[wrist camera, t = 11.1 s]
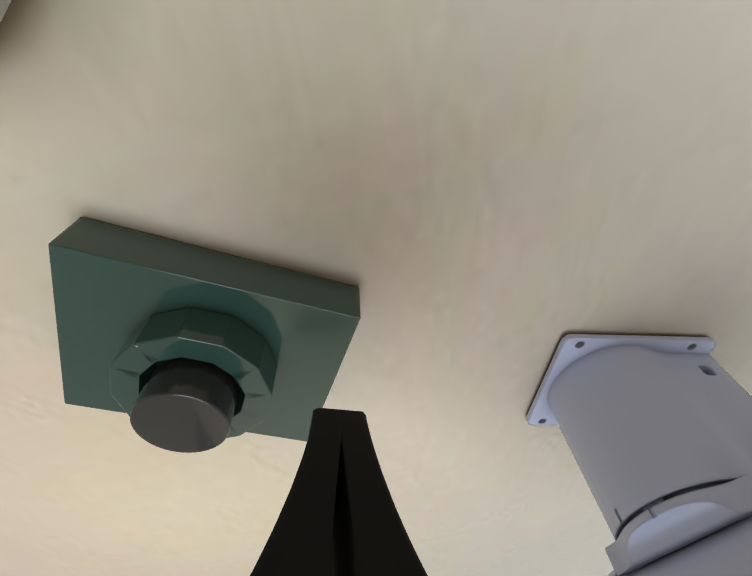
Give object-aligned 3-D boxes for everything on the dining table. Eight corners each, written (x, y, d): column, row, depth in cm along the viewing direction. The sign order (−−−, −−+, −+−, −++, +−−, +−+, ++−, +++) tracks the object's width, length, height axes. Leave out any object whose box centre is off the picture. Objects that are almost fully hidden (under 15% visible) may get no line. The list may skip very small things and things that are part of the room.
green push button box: (359, 287, 21) (362, 347, 18) (311, 408, 27) (305, 473, 23) (81, 216, 18) (14, 271, 15) (88, 368, 24) (41, 437, 20)
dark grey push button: (245, 367, 19) (235, 404, 17) (232, 421, 21) (222, 458, 19) (150, 349, 18) (130, 385, 16) (146, 407, 20) (128, 445, 18)
